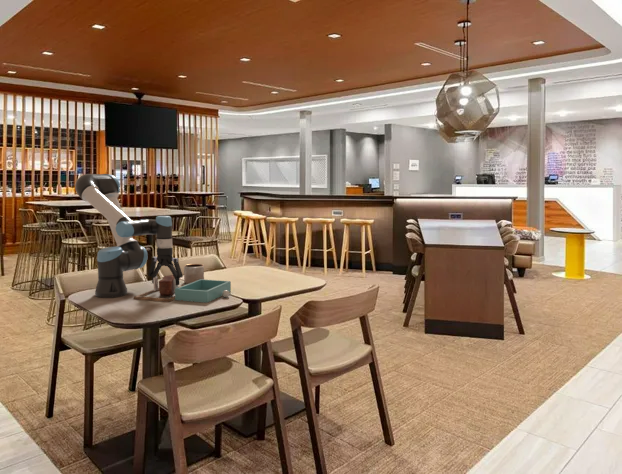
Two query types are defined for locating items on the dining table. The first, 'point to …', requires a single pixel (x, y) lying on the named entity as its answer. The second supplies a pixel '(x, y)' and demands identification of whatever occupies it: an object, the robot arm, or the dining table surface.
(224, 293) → the pebble
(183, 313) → the dining table surface
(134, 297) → the frame
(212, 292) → the dish
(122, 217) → the robot arm
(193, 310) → the dining table surface
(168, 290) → the reddish brown block
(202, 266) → the planter
